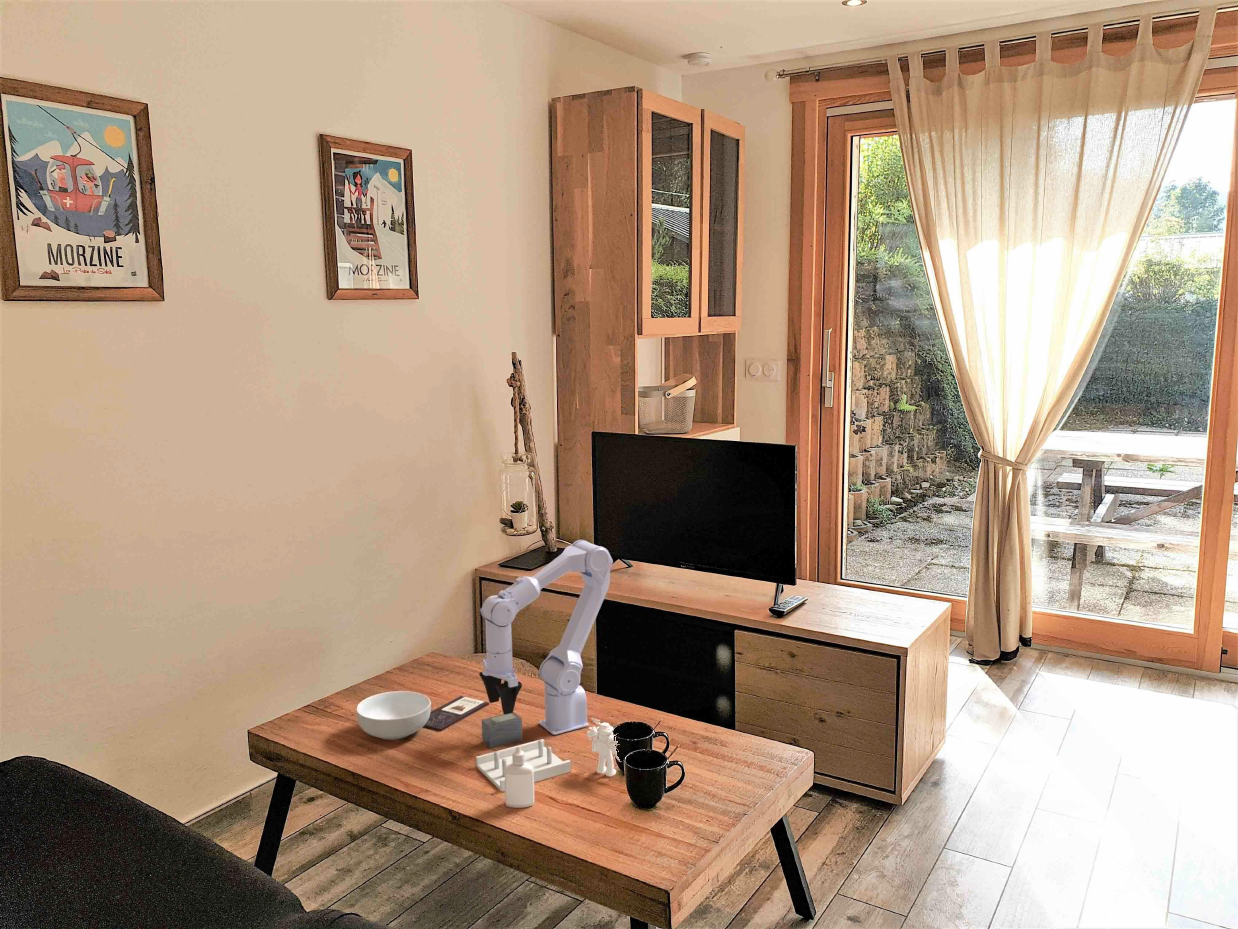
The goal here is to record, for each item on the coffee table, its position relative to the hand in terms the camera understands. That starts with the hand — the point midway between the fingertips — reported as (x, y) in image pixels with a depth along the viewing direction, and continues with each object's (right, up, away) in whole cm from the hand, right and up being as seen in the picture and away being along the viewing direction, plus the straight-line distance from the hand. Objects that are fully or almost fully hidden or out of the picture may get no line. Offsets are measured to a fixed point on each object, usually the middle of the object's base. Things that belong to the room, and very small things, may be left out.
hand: (501, 707), depth 215 cm
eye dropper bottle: (+7, -12, -27) cm, 31 cm away
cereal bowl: (-25, -8, +7) cm, 27 cm away
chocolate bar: (-14, -7, +17) cm, 23 cm away
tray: (+6, -10, -12) cm, 17 cm away
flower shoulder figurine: (+24, -10, -15) cm, 30 cm away
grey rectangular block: (0, -8, +1) cm, 8 cm away
